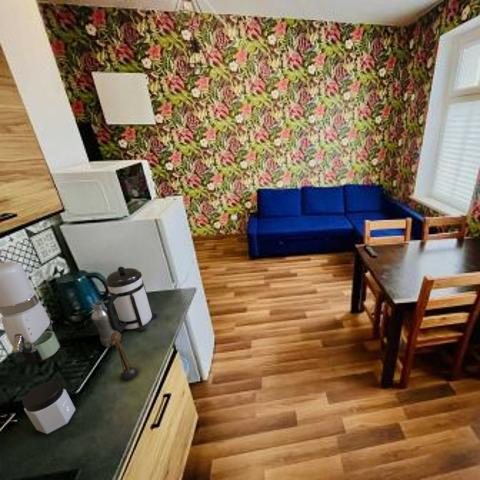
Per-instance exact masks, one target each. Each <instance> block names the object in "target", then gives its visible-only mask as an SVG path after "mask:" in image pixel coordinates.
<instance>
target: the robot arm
mask: <svg viewBox="0 0 480 480" xmlns="http://www.w3.org/2000/svg"><path fill="white" fill-rule="evenodd" d="M0 315H1V316H2V317H1V322H2V323H1V324H2V327H3V330H4V332H5V335H6V337H7V339H8V341H9V344H10V345H11V346H12V349H11V353H12V354H16V355H21V356H23V358H24V359H25V361H26V362H27V364H32V363H38V362H41V361H43V360H42V357H41V355H40V353H39V351H38V349H36V350H35V341H36V340H37V339H38V338H39V337H40V336H41V334H42V333H43V332H44V331H52V332H54V329H53V328H54V327H53V326H52V315H51V313H47V311H46V309H45V308H44V306H43V305H42V303H41V302H40V301H39V299H38V297H37V294H36V292H35V290H34V288H33V287H32V284H31V282H30V280H29V278H28V276H27V273H26V272H25V269H24V267H23V265H22V264H21V263H19V262H17V261H6V262H0ZM24 340H26V341H29V342H25V343H24ZM27 344H30V348H25V345H27Z"/></svg>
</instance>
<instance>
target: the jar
mask: <svg viewBox="0 0 480 480" xmlns="http://www.w3.org/2000/svg"><path fill="white" fill-rule="evenodd" d="M21 404H22V405H23V410H24V412H25V413H26V415H27V417H28V419H29V420H30V422H31V423H32V425H33V427H34V428H35V430H36V431H38V432H41V433H43V434H46V435H48V434H51V433H52V432H54V431H56V430H58V429H60V428H62V427H64V426H65V425H67V424H68V423H69V422H70V420H71V418H72V417H73V415H74V413H75V412H76V407H75V405H74V403H73V401H72V399H71V398H70V395H69V393H68V392H67V389H65V388H63V385H62V384H61V382H60V381H58V380H52V381H51V380H50V381H47V382H44V383H41V384H39V385H38V386H35V387H34V388H32V389H31V390H30V391H28V392H27V394H25V396H24V397H23V399H22V403H21Z"/></svg>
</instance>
